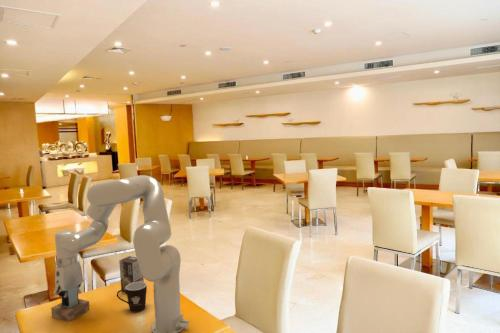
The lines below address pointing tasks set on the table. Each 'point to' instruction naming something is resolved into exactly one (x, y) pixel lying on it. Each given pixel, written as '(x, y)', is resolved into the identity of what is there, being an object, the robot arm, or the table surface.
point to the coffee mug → (135, 296)
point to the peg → (72, 297)
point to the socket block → (70, 310)
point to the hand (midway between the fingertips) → (70, 302)
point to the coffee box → (129, 272)
